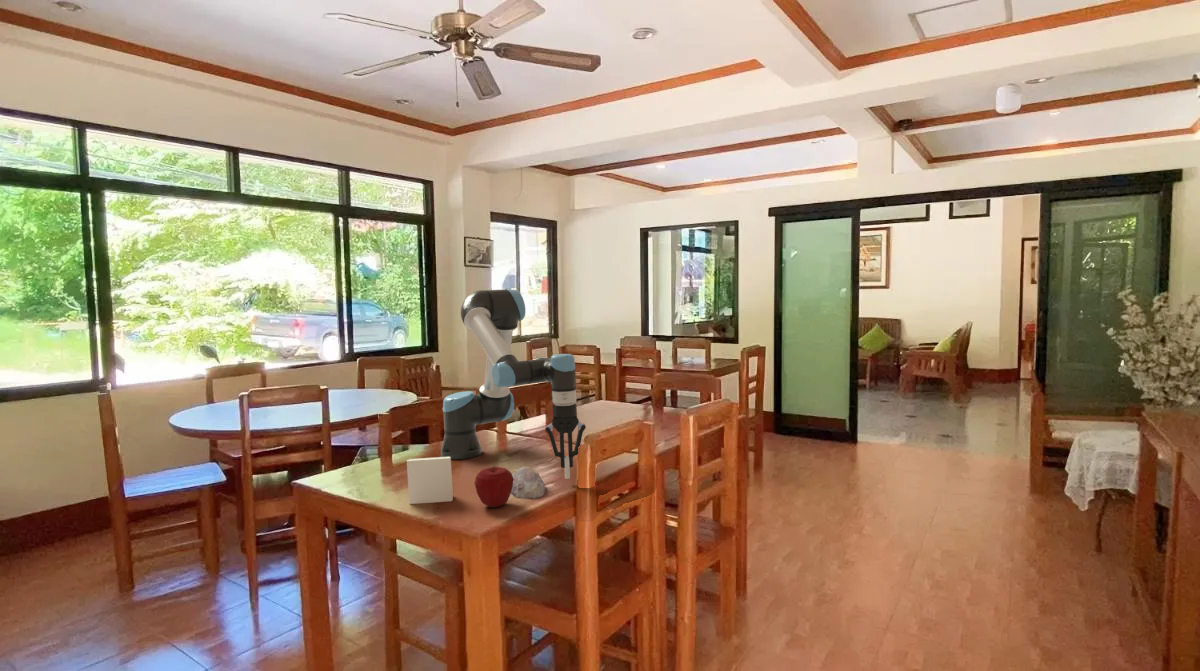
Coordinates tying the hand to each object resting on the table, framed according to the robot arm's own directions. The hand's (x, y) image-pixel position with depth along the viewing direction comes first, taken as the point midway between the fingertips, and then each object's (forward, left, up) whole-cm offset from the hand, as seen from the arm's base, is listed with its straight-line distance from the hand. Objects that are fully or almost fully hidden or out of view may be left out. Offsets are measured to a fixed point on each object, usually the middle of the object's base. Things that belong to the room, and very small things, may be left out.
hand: (567, 477), depth 199 cm
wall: (+8, -41, -2) cm, 42 cm away
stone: (+3, -12, -3) cm, 13 cm away
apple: (+15, -22, -3) cm, 27 cm away
